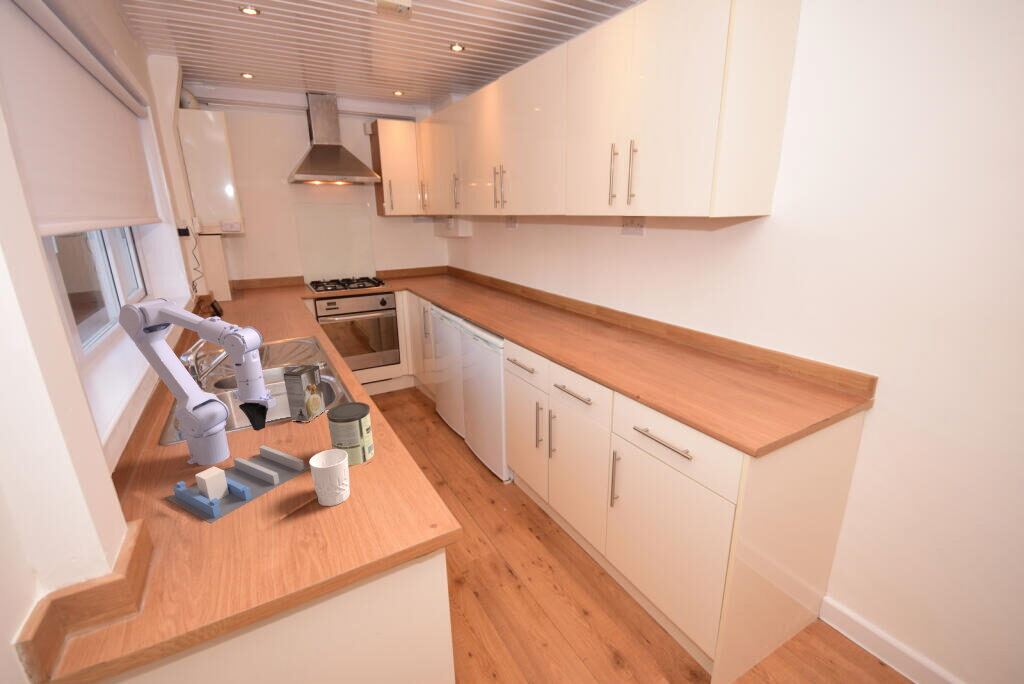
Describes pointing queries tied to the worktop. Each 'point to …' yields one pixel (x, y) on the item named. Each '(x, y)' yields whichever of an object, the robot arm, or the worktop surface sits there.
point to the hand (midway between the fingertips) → (259, 428)
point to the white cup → (330, 476)
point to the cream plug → (212, 483)
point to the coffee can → (352, 431)
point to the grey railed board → (241, 483)
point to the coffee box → (304, 392)
